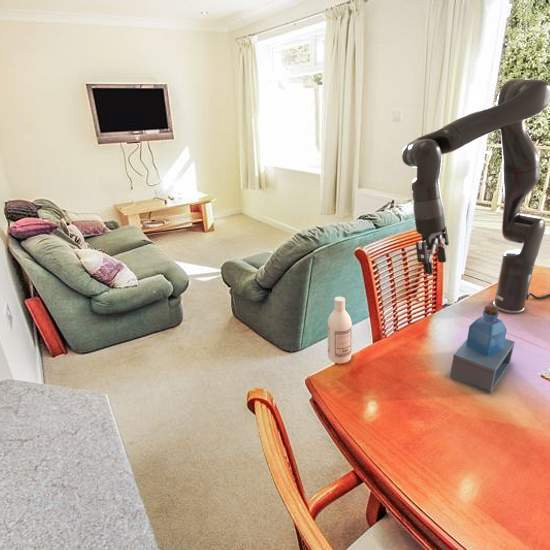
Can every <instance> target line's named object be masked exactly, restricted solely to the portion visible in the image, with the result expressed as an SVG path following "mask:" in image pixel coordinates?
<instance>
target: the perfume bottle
mask: <svg viewBox="0 0 550 550" xmlns="http://www.w3.org/2000/svg"><path fill="white" fill-rule="evenodd" d="M499 311H500V310H499V309H498V308H497V307H495V306H494V305H490V304H489V305H485V306H484V310H483V311H482V315H481V316H480V317H478V318H476V320H474V321H473V322H472V323H471V324H470V325H469V326H468V333H467V339H466V340H467V344H466V346H468V347H470V348H472V349H473V350H475V351H477V352H479V353H481V354H483V355H484V356H486V357H489V356H491V355H493V354H495V353H497V352H498V351H500V350H502V349H503V345H504V341H505V339H506V335H507V331H508V328H507V327H506V325H505V323H504V322H503V320H501V319H500V318H499Z"/></svg>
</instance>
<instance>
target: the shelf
mask: <svg viewBox="0 0 550 550" xmlns="http://www.w3.org/2000/svg"><path fill="white" fill-rule="evenodd" d="M515 343H516V342H515V341H514V340H511V339H508V338H505V341H504V345H503V349H502V350H500V351H498V352H497V353H495V354H493V355H491V356H489V357H486V356H484V355H483V354H481V353H479V352H477V351H475V350H473V349H472V348H470V347H468V346H466V344H467V339H465V341H464V342H463V343H462V344H461V345H460V346H459V348H458V349H457V350H456V351H455V352H454V353H453V355H452V362H451V369H450V375H449V378H450V379H453V380H455V381H457V382H461V383H463V384H464V385H467V386H470V387H472V388H474V389H477V390H479V391H481V392H483V393H487V394H489V395H490V394H491V393H492V392H493V390H494V389H495V388H496V386H497V384H498V382H500V380H501V378H502V376H503V375H504V374H505V372H506V371H507V369H508V367H509V366H510V364H511V360H512V355H513V351H514V348H515Z"/></svg>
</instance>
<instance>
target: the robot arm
mask: <svg viewBox="0 0 550 550" xmlns="http://www.w3.org/2000/svg"><path fill="white" fill-rule="evenodd" d="M549 104H550V82H548V81H547V80H544V79H538V78H513V79H509V80H507V81H506V82H504V84H502V86H501V88H500V90H499V91H498V95H497V99H496V105H495V106H492V107H488V108H484V109H482V110H479V111H475V112H472V113H468V114H466V115H463V116H461V117H459V118H457V119H455V120H453V121H452V122H450V123H448V124H445V125H444V126H442V127H441V128H438V129H437V130H435V131H432V132H430V133H429V132H428V133H427V134H424V135H421V136H420V137H417V138H414V139H413V140H411V141H409V142H408V143H407V144H406V145H405V147H404V148H403V149H402V153H401V159H402V162H403V163H404V164H405V165H406V166H407V167H409V168H414V169H416V177H415V178H414V179H412V181H411V182H410V183H411V185H410V186H411V187H410V188H411V195H412V202H413V203H412V204H413V207H412V209H413V216H414V217H413V218H414V223H415V230H416V233H417V234H419V235H421V240H420V241H416V242H415V249H416V257H417V258H416V259H417V263H421V264H422V265H423V273H424V274H425V275H432V274H434V269H433V262H432V260H433V256H434V255H435V253H436V257H437V262H438V263H443V264H444V263H446V262H447V255H446V254H447V253H446V250H447V246H449V243H450V242H449V234H448V228H447V225H446V220H445V211H444V204H443V200H442V195H441V186H440V176H441V168H442V162H443V155H445V154H451V153H453V152H456V151H457V150H460V149H461V148H463V147H466V145H469V144H471V143H473V142H474V141H476V140H478V139H480V138H482V137H484V136H487V135H489V134H491V133H494V132H496V131H498V130H499V131H500V138H501V139H500V141H501V151H502V152H501V153H502V155H501V156H502V183H503V211H502V222H501V223H502V224H501V233H502V236H503V238H504V240H506V241H508V242H512V243H516V244H519V245H522V246H521V247H522V248H521V249H513V250H507V251H505V252H503V255H502V259H501V263H500V264H501V265H500V269H499V270H500V271H499V275H498V280H497V286H496V292H495V295H494V300H493V304H492V306H495V307H497V308H498V309H499V310H498V311H501V312H503V313H506V314H507V313H508V314H520V313H523V312H524V311H525V306H526V301H528V300H529V299H530V296H531V297H532V298H533V299H536V300H543V299H546V298H549V297H550V293H548V294H546V295H543V296H537V295H535V294H534V293H532V292H530V291H529V290H530V285H531V280H532V276H533V272H534V267H535V263H536V260H537V257H538V255H539V252H540V248H541V244H542V241H543V238H544V236H545V231H546V221H545V219H544V218H543V217H542V218H541V217H538V216H532V215H526V214H522V212H521V206H522V203H523V201H524V200H525V198H527V196H528V195H529V194H530V193H531V192H532V191H533V189H535V187H536V186H537V184H538V182H539V181H540V176H541V175H540V173H541V159H540V158H541V157H540V154H539V151H538V149H537V147H536V145H535V143H534V141H533V140H532V137H531V136H530V134H529V133H528V130H527V127H526V126H527V125H526V120H528V119H532V118H534V117H536V116H538V115H540V114H541V113H543V111H544V110H545V109H546V108H547V107H548V105H549Z"/></svg>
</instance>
